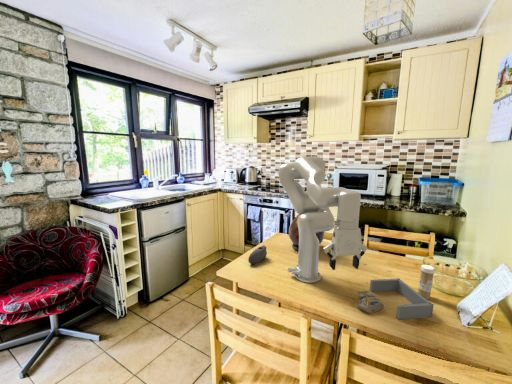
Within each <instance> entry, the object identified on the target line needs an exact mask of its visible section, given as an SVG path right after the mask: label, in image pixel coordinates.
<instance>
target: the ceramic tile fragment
mask: <svg viewBox="0 0 512 384" xmlns="http://www.w3.org/2000/svg"><path fill="white" fill-rule="evenodd" d="M357 294H358V297H359V300H358V302H357V305H356V306H357V308H358V309H359V310H361V311H363V312H366V313H368V314H373V313H376V312H377V311H380V310H381V309H384V308H385V304H384V303H383V302H382V300H380V299H379V298H378V297H376V296H375V295H373V294H372V292H371V291H368V290H362V291H357Z"/></svg>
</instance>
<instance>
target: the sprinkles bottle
mask: <svg viewBox="0 0 512 384" xmlns="http://www.w3.org/2000/svg"><path fill="white" fill-rule="evenodd" d="M435 271H436V269H435V267H434V266H432V265H429V264H421V265H420V277H419V283H418V290H417V293H419V294H420V295H421V296H423V297H424V298H425V299H427V300H430V299H431V292H432V288H433V287H432V286H433V282H434V279H433V278H434V274H435Z"/></svg>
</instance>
